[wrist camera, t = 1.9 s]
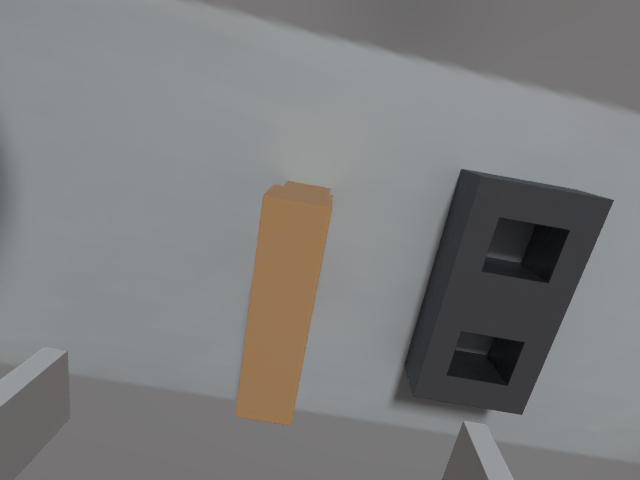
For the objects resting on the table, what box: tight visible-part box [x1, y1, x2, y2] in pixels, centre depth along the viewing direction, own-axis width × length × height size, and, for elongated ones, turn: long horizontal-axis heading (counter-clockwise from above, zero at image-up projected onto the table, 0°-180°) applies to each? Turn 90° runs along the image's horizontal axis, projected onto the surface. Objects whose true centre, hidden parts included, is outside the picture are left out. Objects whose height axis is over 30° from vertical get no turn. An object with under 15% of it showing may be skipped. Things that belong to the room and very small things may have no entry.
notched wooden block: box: [235, 181, 332, 426], centre depth 22 cm, size 12×3×10 cm, turn 170°
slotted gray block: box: [405, 169, 614, 415], centre depth 26 cm, size 16×8×4 cm, turn 170°
